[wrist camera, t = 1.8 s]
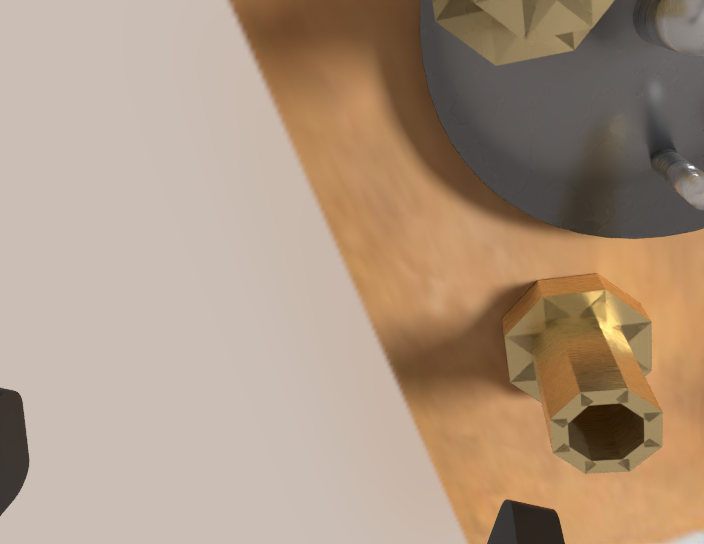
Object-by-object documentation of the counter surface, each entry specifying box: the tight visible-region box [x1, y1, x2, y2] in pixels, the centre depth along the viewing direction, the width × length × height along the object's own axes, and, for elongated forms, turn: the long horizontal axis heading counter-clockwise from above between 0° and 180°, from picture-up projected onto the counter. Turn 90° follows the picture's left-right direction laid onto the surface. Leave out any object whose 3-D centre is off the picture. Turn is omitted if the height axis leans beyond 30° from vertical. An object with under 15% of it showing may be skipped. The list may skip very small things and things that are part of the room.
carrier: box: [420, 0, 704, 239], centre depth 22 cm, size 19×19×6 cm
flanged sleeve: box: [502, 274, 663, 474], centre depth 28 cm, size 7×7×8 cm
